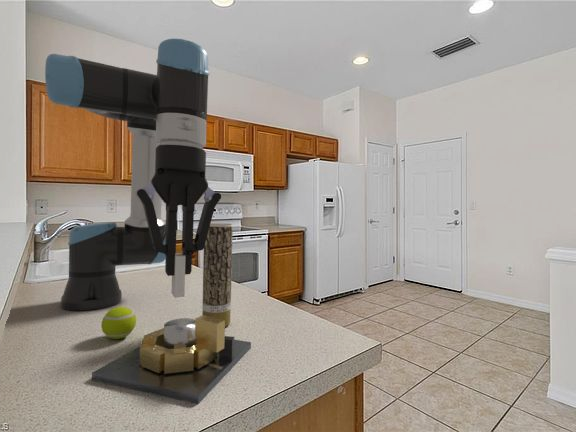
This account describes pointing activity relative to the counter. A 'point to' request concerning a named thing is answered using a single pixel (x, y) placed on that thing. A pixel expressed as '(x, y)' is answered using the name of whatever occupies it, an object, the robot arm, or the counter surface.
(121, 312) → the tennis ball
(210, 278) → the bark textured cylinder
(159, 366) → the ring nut
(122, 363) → the housing
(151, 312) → the counter surface
